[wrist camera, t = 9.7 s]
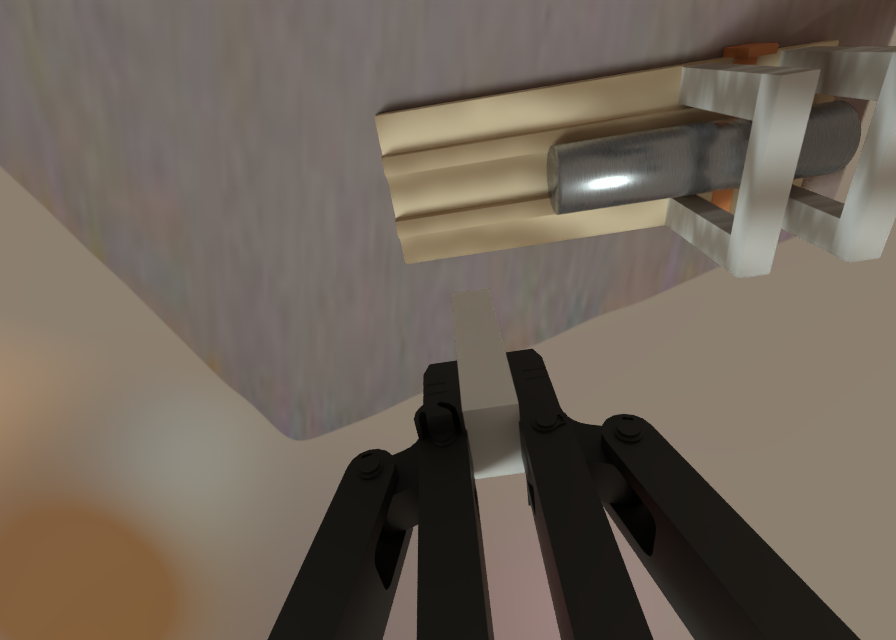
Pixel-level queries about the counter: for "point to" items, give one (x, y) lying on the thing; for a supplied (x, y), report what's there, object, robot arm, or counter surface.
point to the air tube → (686, 159)
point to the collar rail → (638, 109)
